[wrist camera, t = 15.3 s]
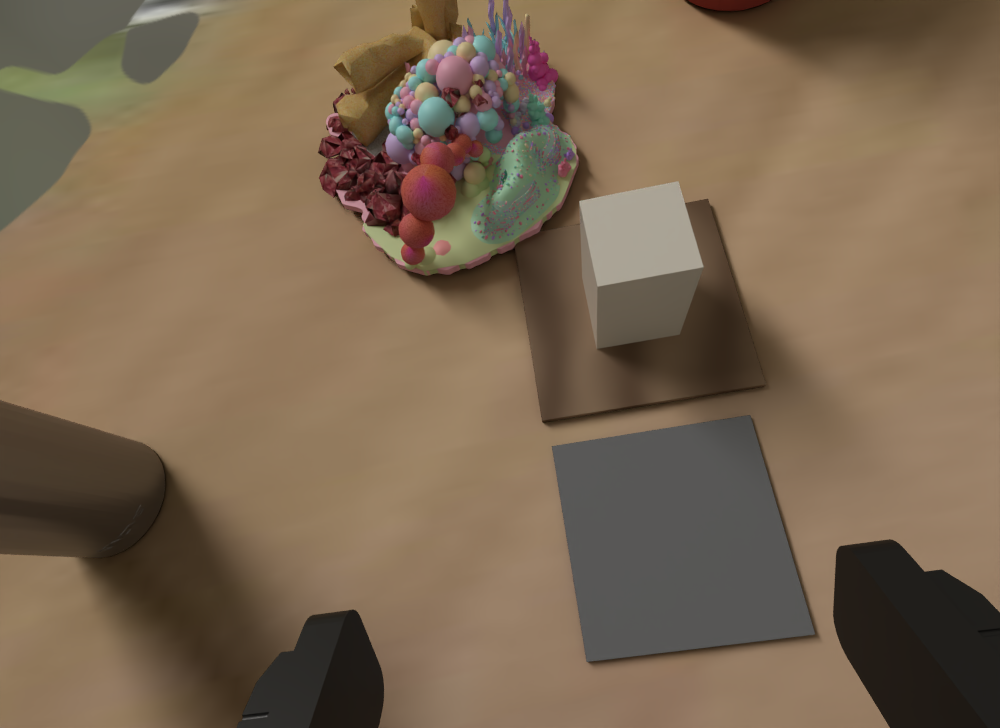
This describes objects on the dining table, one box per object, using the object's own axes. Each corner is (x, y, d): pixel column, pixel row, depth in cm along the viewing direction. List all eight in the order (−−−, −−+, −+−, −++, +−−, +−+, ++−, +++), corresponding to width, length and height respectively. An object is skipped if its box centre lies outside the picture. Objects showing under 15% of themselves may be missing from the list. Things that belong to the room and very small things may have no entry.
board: (542, 422, 42) (542, 420, 42) (514, 240, 48) (513, 236, 48) (763, 386, 41) (766, 384, 40) (706, 203, 47) (707, 198, 46)
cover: (596, 349, 43) (597, 286, 34) (582, 277, 45) (579, 201, 36) (679, 334, 43) (703, 267, 33) (660, 263, 45) (678, 181, 36)
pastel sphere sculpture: (282, 158, 55) (224, 80, 47) (460, 15, 59) (437, -82, 50) (445, 315, 46) (410, 253, 38) (647, 135, 49) (656, 40, 41)
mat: (586, 661, 37) (586, 662, 36) (552, 447, 42) (551, 446, 41) (812, 633, 35) (815, 634, 35) (748, 416, 40) (750, 415, 40)
